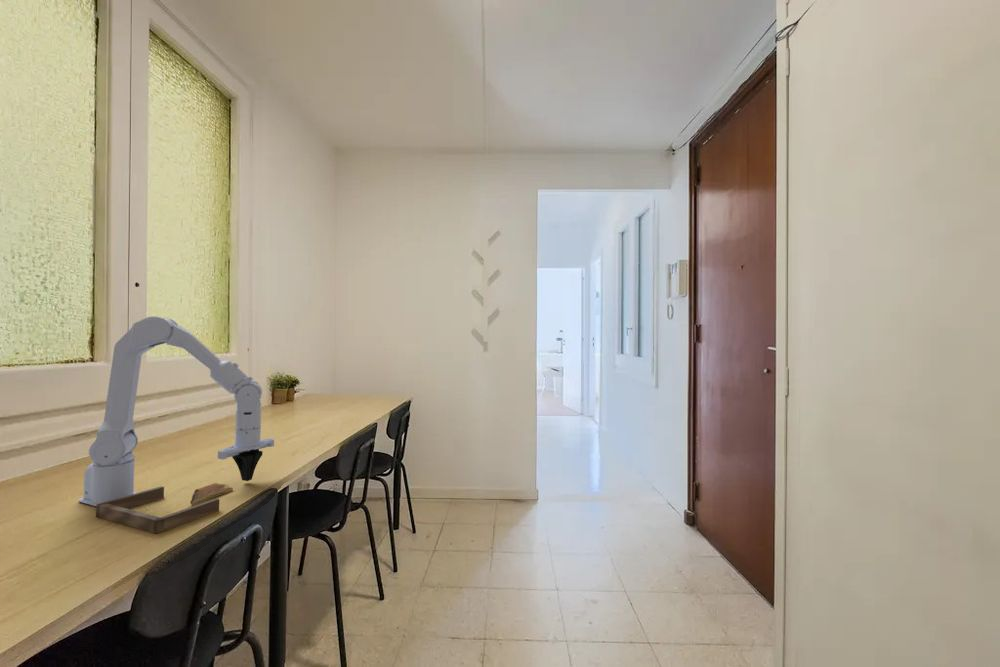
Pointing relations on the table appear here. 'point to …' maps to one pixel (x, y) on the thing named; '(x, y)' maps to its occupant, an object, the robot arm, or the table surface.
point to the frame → (121, 514)
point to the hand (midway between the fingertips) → (246, 479)
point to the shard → (209, 492)
